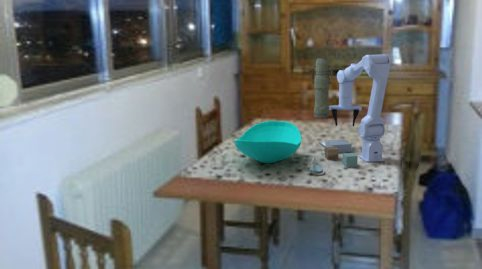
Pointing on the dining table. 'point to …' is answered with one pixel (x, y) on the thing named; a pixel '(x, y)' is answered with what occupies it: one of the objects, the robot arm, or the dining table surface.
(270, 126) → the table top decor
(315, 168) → the pacifier
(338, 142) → the slate base block
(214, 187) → the dining table surface
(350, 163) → the green block
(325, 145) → the card
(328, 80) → the thermos
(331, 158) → the walnut block
